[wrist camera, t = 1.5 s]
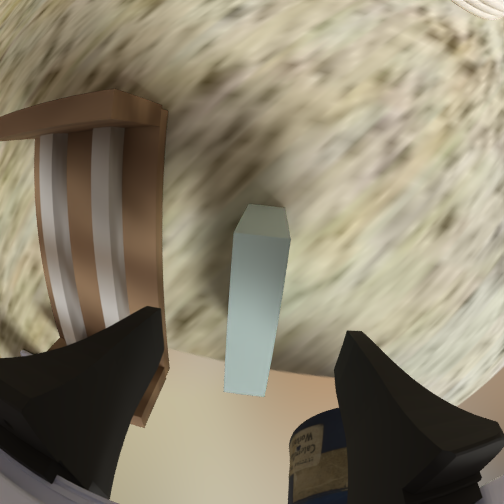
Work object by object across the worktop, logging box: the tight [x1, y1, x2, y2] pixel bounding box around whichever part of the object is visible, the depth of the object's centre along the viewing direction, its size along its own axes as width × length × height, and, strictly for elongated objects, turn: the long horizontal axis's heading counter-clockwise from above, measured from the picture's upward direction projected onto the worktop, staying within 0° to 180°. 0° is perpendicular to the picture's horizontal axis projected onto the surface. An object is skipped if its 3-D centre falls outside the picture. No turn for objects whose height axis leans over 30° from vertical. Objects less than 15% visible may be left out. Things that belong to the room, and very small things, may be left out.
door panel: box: [224, 204, 291, 397], centre depth 14 cm, size 8×2×6 cm, turn 175°
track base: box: [0, 89, 170, 428], centre depth 15 cm, size 18×10×6 cm, turn 175°
